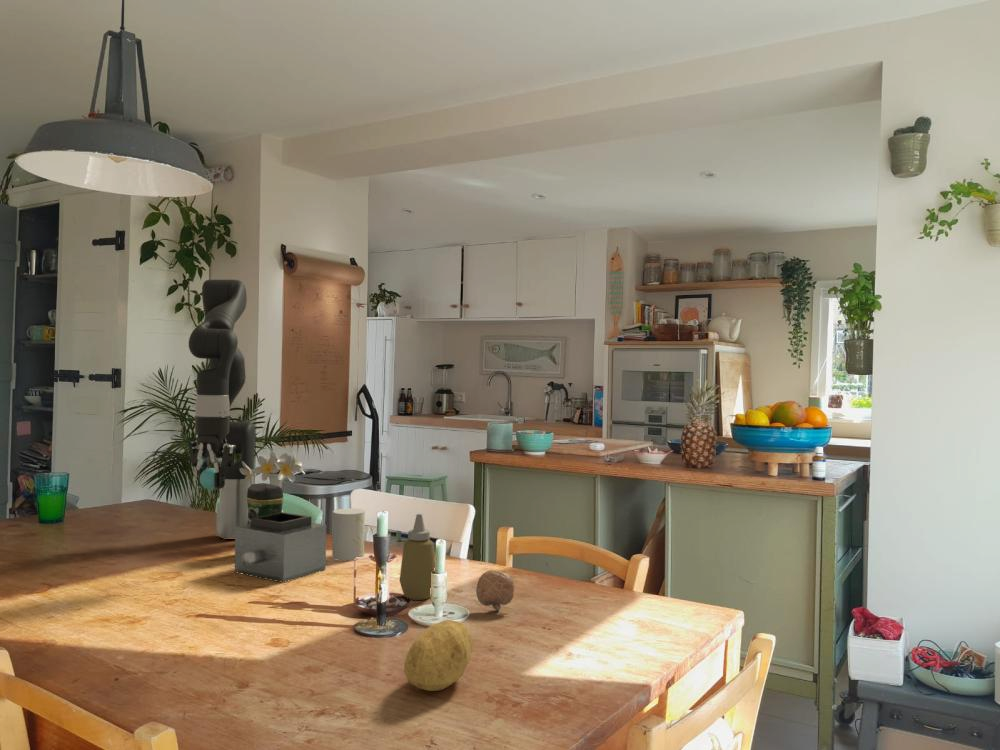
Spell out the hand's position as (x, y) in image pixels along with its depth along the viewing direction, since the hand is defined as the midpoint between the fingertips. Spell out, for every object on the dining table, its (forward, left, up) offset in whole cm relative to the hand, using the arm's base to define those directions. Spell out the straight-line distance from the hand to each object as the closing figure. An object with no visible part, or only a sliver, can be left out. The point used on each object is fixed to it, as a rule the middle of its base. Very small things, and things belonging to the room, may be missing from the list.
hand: (211, 486), depth 183 cm
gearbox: (+10, +11, -21) cm, 26 cm away
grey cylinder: (+14, +33, -21) cm, 42 cm away
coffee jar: (-6, +23, -21) cm, 32 cm away
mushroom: (+69, +15, -21) cm, 73 cm away
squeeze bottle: (+50, +14, -21) cm, 56 cm away
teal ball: (0, 0, -1) cm, 1 cm away
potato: (+80, -23, -21) cm, 86 cm away
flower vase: (-16, +36, -21) cm, 45 cm away
